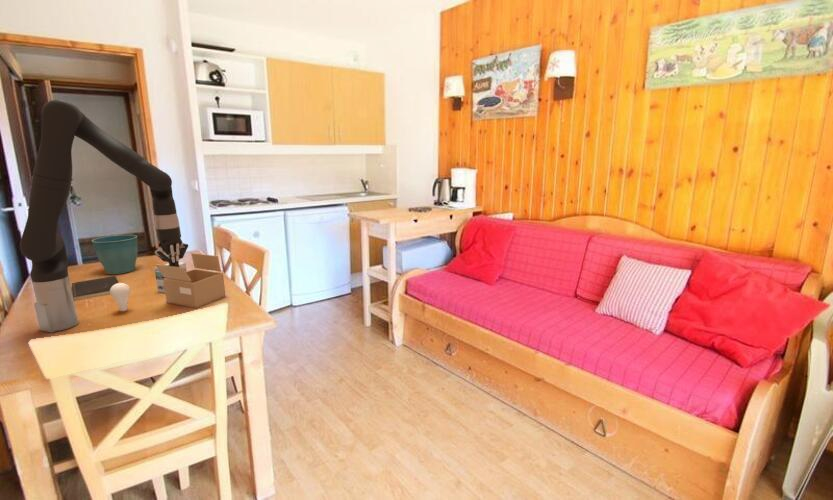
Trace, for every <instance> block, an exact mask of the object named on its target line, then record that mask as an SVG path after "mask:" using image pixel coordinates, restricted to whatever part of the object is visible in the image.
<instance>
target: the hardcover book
mask: <svg viewBox="0 0 833 500" xmlns="http://www.w3.org/2000/svg"><path fill="white" fill-rule="evenodd" d="M117 283H120V282H119V281H118V278H117V276H116V275H113V276H107V277H99V278H94V279H88V280H82V281H76V282H72V283H71V290H72V294H73V299H74V301H78V300H85V299H90V298H94V297H100V296H101V297H102V296H107V295H111V294H110V289H111V287H112V286H113V285H115V284H117Z"/></svg>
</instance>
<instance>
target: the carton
mask: <svg viewBox="0 0 833 500" xmlns="http://www.w3.org/2000/svg"><path fill="white" fill-rule="evenodd" d="M186 273H187V275H188V276H189V278H190V279H191V281H184V280H178V279H172V278H164V279H163V282H164V288H165V300H166V303H167V304H171V305H175V306H176V305H177V306H180V307H181V306H182V307H187V308H191V309H199V308H201V307H204V306H206V305H209V304H212V303H213V302H216V301H218V300H221V299H223V298H225V297H227V295H226V287H225V286H226V285H225V279H224V273H222V272H218V271H211V270H205V269H198V268H194V269H190V270H188V271H187V272H186Z"/></svg>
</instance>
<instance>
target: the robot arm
mask: <svg viewBox="0 0 833 500" xmlns="http://www.w3.org/2000/svg"><path fill="white" fill-rule="evenodd" d="M41 109H42V110H41V133H40V134H41V135H40V143H39V148H38V151H37V155H36V158H35V162H34V163H35V164H34V168H33V172H32V178H31V183H30V194H29V200H28V201H29V202H28V213H27V218H26V223H25V225H24V228H23V231H22V236H21V239H20V242H19V250H20V252H21V254H22V255H23V256H24V257H25V258H26V259H27V260H29V261H31V270H30V273H29V276H30V280H31V284H32V287H33V292H34V293H33V294H34V297H35V300H36V302H34V303H33V305H34V309H35V315H36V319H37V322H38V327H39V330H40V331H43V332H46V333H54V332H59V331H64V330H68V329H70V328H73V327H75V326H77V325H78V324H79V318H78V311H77V308H76V304H75V300H74V299H73V293H72V284H71V280H70V277H69V272H68V269H69V261H68V255H67V248H66V244H65V240H64V239H63V237H62V236H61V235H60V233H58V231H57V230H58V225H59V224H58V223H59V219H60V216H61V214H62V212H63V211H64V208H65V206H66V203H67V202H68V201H67V200H68V199H69V195H70V192H71V187H72V180H73V159H72V148H73V143H74V141H75V140H74V139H75V137H76V138H78V139H81V140H82V141H84V142H85V143H87V144H88V145H90V146H92V147H93V148H94V149H96V150H97V151H98V152H99V153H101V154H102V155H104V157H105V158H107V159H108V160H110V161H111V162H112V163H113V164H116V165H117V166H118V167H120V168H121V169H123V170H125V171H126V172H128V173H129V174H130V175H133V176H135V178H138V179H139V180H140V181H141V182H143V184H145V185H147V186H148V188H149V190H150V194H151V197H152V209H153V215H154V225H155V231H156V236H157V237H156V238H157V240H158V248H157V250H153V254H154V255H155V256H157V257H158V258H159V259H160V260H161V261H162V262H165V263H169V266H175V267H179V261H180V260H181V259H184V257H185V254H186V251H187V249H188V248H189V244H188V243H184V242H183V240H182V238H181V237H182V233H181V227H180V220H179V216H178V213H177V207H176V203H175V202H176V201H175V200H174V195H173V187H172V185H173V180H172V178H171V176H170V175H169V174H168V173H167V172H165V171H163V170H161V169H160V168H158V166H155V165H153V164H152V163H150V162H149V161H148V160H147V159H146V158H145V157H143V155H142V156H141V154H139V153H138V152H136V150H135V151H134V149H133V148H130V146H127V145H126V144H125V143H123V142H122V141H120V140H118V139H116V138H115V137H113V136H112V135H110V134H108V133H107V132H106V131H105V130H103V129H101V128H100V127H99V126H98V125H97V124H95V123H94V122H93V120H91V119H90V118H88V117H87V116H86V115H85V114H84V113H83V112H82V111H81V110H80V109H79V108H78V107H77V106H76V105H75V104H74V103H72V102H69V101H67V100H65V99H51V100H49V101H48V102H46V103H44V104H43V107H42V108H41Z"/></svg>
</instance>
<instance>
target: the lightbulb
mask: <svg viewBox="0 0 833 500" xmlns="http://www.w3.org/2000/svg"><path fill="white" fill-rule="evenodd" d="M130 294H131V287H130V286H129V285H128V284H126V283H123V282H119V283H117V284H115V285H113V286H112V287H111V289H110V294H109V295H110V296H111V297H112V298H113V300H115V302H116V305H117V306H118V308H119V309H118V310H119V311H120V312H126V311H127V310H128V301H129V300H128V298H129V296H130Z"/></svg>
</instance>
